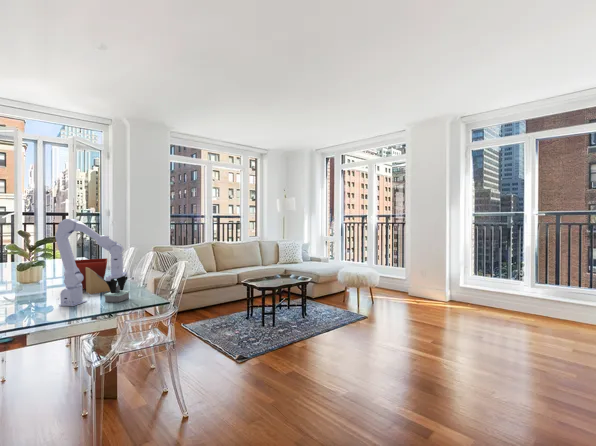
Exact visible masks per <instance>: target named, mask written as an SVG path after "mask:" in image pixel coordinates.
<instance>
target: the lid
mask: <svg viewBox="0 0 596 446" xmlns="http://www.w3.org/2000/svg"><path fill="white" fill-rule="evenodd" d="M130 292H131V291H130V290H120V286H119V285H118V284H117V285H116V292H115V293H111V292H110V291H108V292H105V293H104V294H103V295H104V297H105V296H121V295H124V294H126V293H129V294H130Z"/></svg>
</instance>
